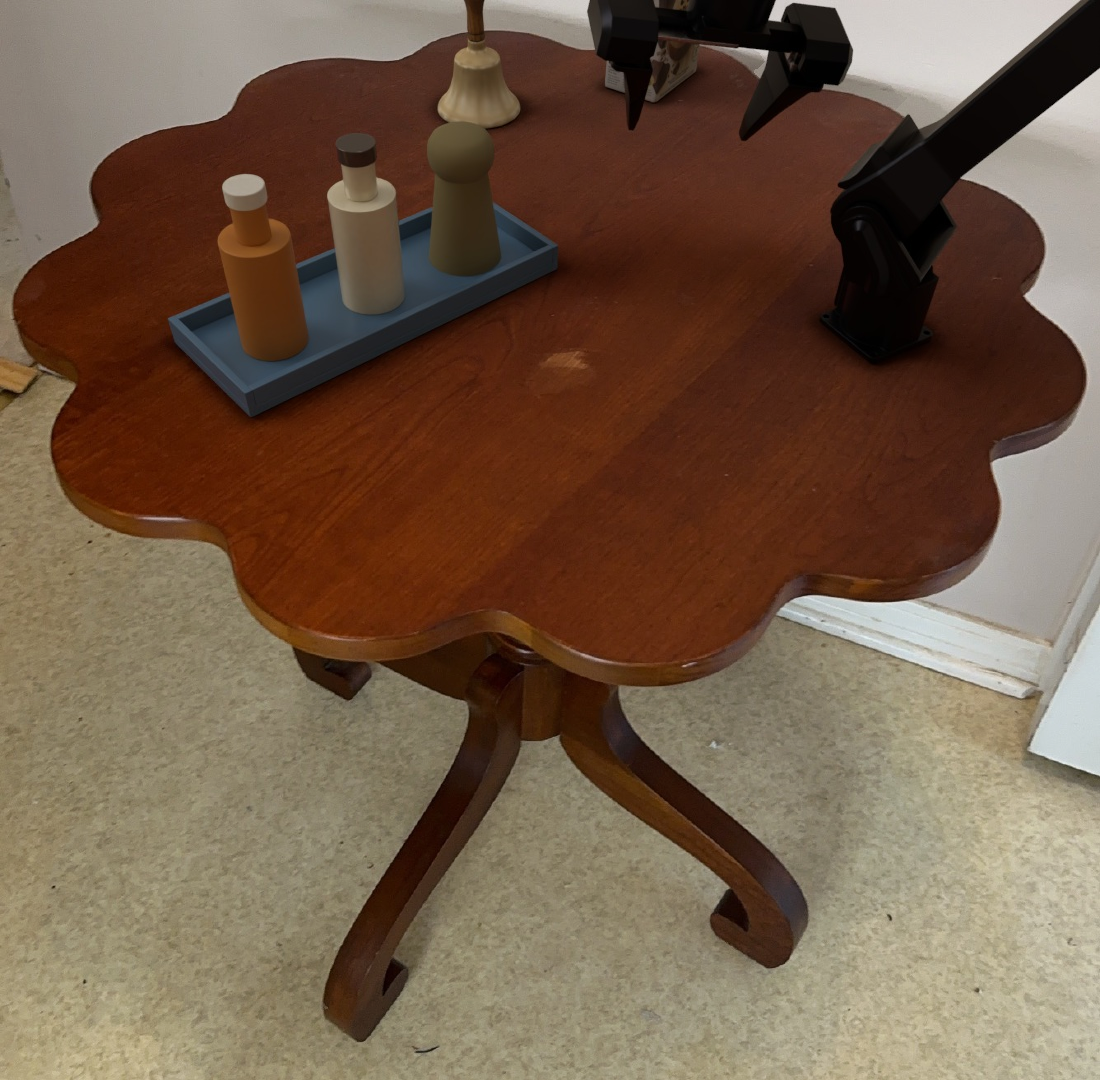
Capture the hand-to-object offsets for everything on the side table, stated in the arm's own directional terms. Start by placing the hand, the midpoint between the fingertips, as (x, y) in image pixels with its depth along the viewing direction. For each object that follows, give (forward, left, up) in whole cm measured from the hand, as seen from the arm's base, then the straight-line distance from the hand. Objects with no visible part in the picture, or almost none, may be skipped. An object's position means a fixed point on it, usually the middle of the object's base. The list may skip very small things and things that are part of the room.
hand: (686, 132), depth 85 cm
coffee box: (+27, -17, -11) cm, 34 cm away
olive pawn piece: (+7, +16, -10) cm, 20 cm away
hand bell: (+30, +2, -11) cm, 32 cm away
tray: (+6, +25, -11) cm, 28 cm away
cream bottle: (+6, +25, -10) cm, 28 cm away
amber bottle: (+4, +34, -10) cm, 36 cm away
